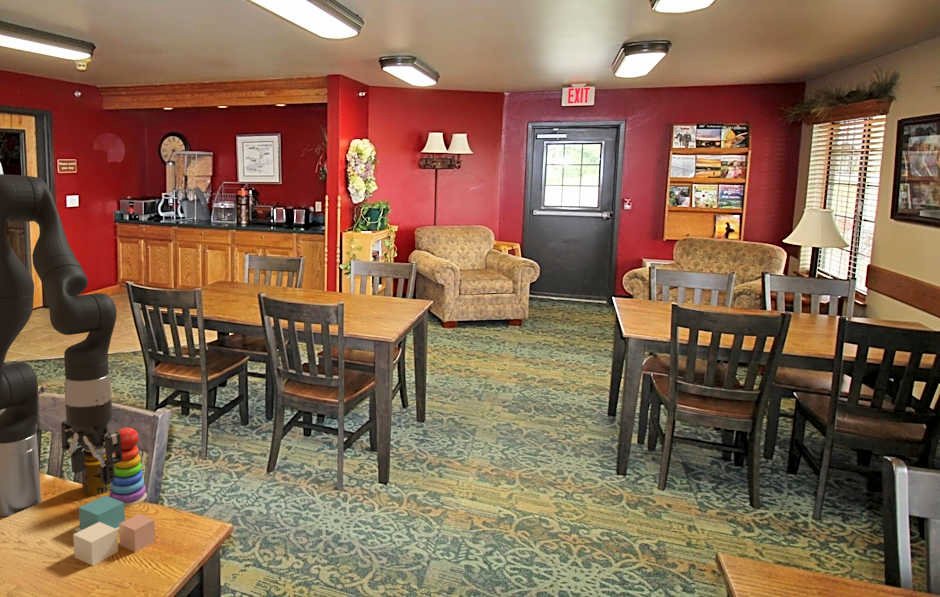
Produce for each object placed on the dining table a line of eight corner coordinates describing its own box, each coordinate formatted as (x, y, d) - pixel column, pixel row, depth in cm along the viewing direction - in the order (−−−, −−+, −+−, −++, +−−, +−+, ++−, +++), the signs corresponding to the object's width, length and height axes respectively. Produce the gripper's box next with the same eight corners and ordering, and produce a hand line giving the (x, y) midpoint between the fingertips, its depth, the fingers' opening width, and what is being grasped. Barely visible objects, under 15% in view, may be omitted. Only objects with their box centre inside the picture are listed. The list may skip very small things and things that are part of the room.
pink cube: (119, 545, 130) (118, 523, 129) (139, 535, 134) (139, 513, 133) (135, 552, 128) (134, 530, 127) (155, 541, 132) (154, 519, 131)
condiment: (115, 497, 150) (113, 450, 148) (73, 505, 145) (70, 457, 143) (112, 484, 156) (110, 438, 154) (72, 491, 151) (69, 445, 149)
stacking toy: (100, 507, 145) (96, 431, 141) (127, 492, 153) (124, 419, 149) (128, 514, 143) (125, 437, 139) (154, 498, 151) (152, 424, 147)
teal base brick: (80, 528, 134) (78, 507, 133) (106, 516, 140) (105, 495, 139) (98, 537, 132) (97, 515, 131) (125, 523, 137) (124, 502, 136)
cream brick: (74, 557, 125) (73, 534, 124) (100, 543, 130) (99, 521, 129) (92, 565, 123) (91, 542, 122) (118, 551, 128) (117, 529, 127)
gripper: (44, 396, 120) (50, 475, 123) (94, 411, 114) (99, 494, 117) (83, 385, 126) (87, 461, 129) (132, 399, 121) (135, 478, 124)
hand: (93, 477), depth 123 cm, fingers open, 8 cm apart
